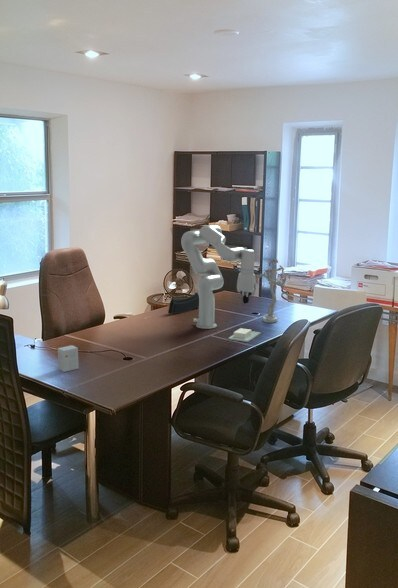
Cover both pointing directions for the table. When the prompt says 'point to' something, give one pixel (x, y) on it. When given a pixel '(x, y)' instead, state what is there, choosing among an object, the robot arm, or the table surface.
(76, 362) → the small box
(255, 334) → the mat
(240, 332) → the cream rectangular block
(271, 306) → the grey tall branched form
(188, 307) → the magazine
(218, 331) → the table surface
